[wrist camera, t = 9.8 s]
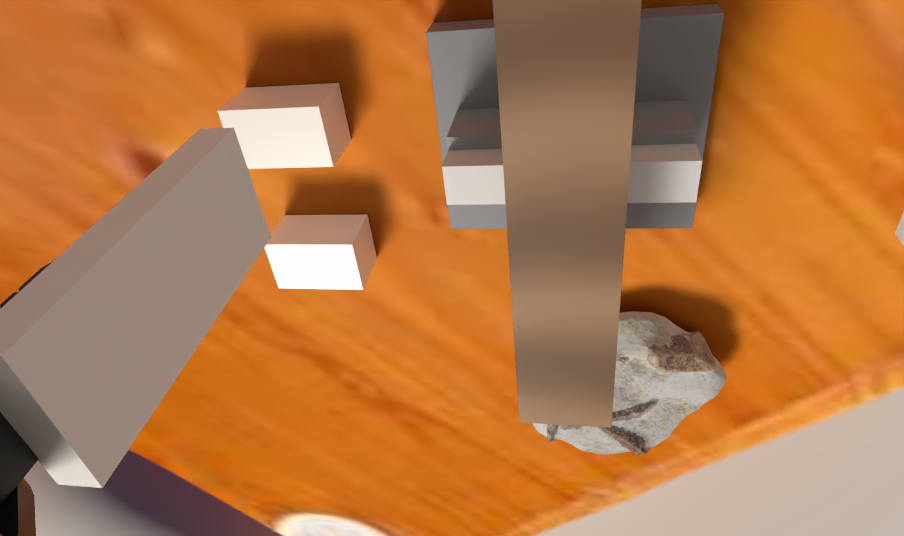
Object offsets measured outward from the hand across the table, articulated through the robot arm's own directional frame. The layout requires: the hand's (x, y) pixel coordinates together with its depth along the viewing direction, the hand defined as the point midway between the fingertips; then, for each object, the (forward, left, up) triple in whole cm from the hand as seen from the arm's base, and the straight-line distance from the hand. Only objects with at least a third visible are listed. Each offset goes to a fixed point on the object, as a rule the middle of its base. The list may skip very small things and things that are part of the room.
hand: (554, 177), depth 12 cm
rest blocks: (+9, -13, -17) cm, 23 cm away
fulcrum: (+6, 0, -17) cm, 18 cm away
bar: (+6, 0, -11) cm, 13 cm away
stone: (+23, +3, -18) cm, 29 cm away
